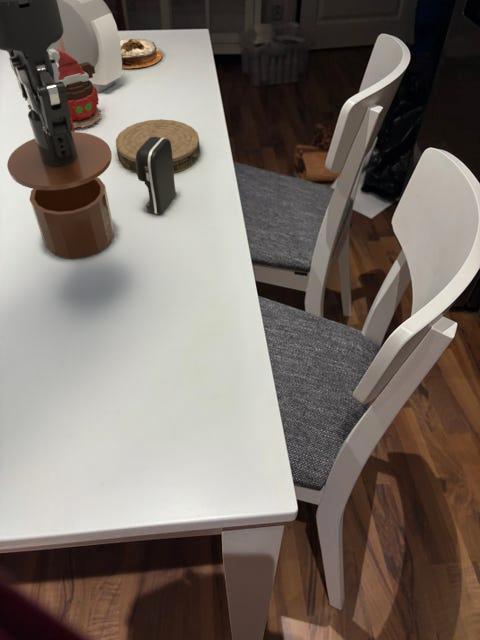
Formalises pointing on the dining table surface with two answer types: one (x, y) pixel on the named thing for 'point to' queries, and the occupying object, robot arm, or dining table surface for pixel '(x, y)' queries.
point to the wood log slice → (176, 132)
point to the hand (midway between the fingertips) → (57, 150)
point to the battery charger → (156, 172)
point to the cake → (77, 87)
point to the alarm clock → (91, 39)
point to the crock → (74, 219)
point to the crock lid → (45, 174)
